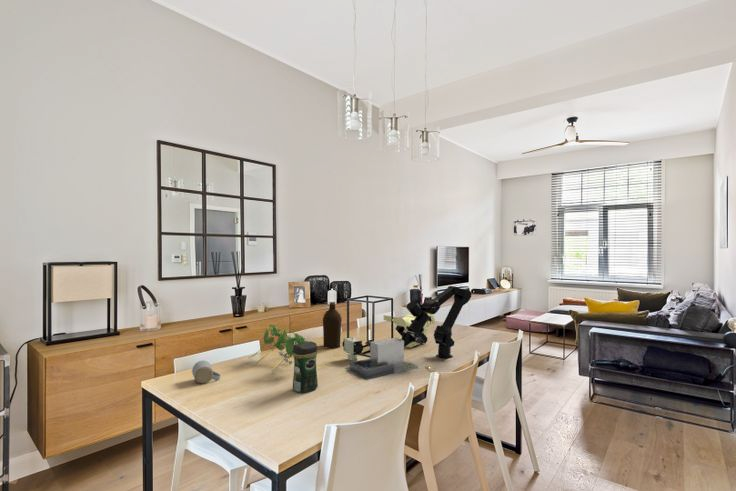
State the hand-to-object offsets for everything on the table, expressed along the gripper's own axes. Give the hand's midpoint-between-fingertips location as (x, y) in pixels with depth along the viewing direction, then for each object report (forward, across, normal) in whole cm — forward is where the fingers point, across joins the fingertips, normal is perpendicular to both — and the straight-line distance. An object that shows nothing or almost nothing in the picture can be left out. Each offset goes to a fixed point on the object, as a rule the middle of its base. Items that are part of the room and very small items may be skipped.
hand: (401, 347), depth 176 cm
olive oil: (+15, +48, +2) cm, 50 cm away
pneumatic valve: (+18, +18, +5) cm, 26 cm away
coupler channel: (+14, 0, +2) cm, 14 cm away
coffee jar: (+42, -2, +29) cm, 51 cm away
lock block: (+11, 0, 0) cm, 11 cm away
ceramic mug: (+65, +29, +51) cm, 87 cm away
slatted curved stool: (-15, +29, -27) cm, 43 cm away
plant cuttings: (+42, +29, +29) cm, 59 cm away
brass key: (+1, -13, -11) cm, 17 cm away
